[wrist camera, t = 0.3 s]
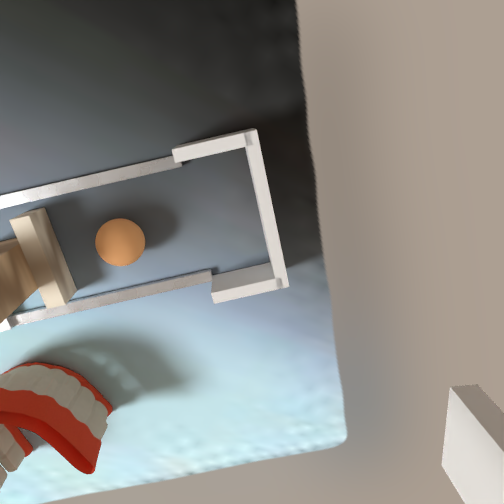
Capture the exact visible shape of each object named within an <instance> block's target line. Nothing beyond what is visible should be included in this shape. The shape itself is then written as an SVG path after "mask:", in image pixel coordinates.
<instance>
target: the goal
mask: <svg viewBox="0 0 504 504" xmlns="http://www.w3.org/2000/svg"><path fill="white" fill-rule="evenodd" d="M242 147H245V148H246V153H247V158H248V162H249V167H250V171H251V176H252V180H253V185H254V189H255V194H256V199H257V203H258V208H259V212H260V217H261V221H262V226H263V231H264V235H265V240H266V244H267V249H268V253H269V258H270V263H265V264H261V265H256V266H252V267H248V268H243V269H239V270H234V271H230V272H226V273H221V274H217V275H213V276H212V289H211V294H212V298H213V301H214V304H215V303H220V302H224V301H228V300H233V299H237V298H242V297H246V296H250V295H255V294H259V293H264V292H268V291H272V290H277V289H281V288H286V287H289V283H288V278H287V273H286V268H285V264H284V259H283V254H282V249H281V244H280V240H279V235H278V230H277V225H276V220H275V215H274V211H273V206H272V201H271V196H270V191H269V187H268V182H267V177H266V172H265V167H264V162H263V158H262V153H261V148H260V143H259V138H258V134H257V130H256V129H254V128H251V129H246V130H242V131H238V132H233V133H229V134H225V135H220V136H216V137H212V138H207V139H203V140H199V141H195V142H190V143H186V144H182V145H177V146H176V147H174V148H173V149H172V153H173V157H174V160H175V163H177V162H181V161H186V160H190V159H194V158H199V157H203V156H207V155H212V154H216V153H220V152H224V151H229V150H233V149H237V148H242Z"/></svg>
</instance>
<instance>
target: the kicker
mask: <svg viewBox="0 0 504 504" xmlns="http://www.w3.org/2000/svg"><path fill="white" fill-rule="evenodd" d="M10 223H11V225H12V227H13V230H14V232H15V234H16V237H17V238H13V239H9V240H5V241H0V324H1V323H2V322H3V321H4V320H5V319H6V318H7V317H8V316H9V315H10V314H11V313H12V312H13V311H14V310H16V309H17V308H18V307H19V306H20V305H21V304H22V303H23V302H24V301H25V300H26V299H27V298H28V297H29V296H30V295H31V294H32V293H34V292H35V291H36V290H37V289H39V291H40V293H41V296H42V298H43V301H44V303H45V305H46V308H47V309H50V308H54V307H58V306H63V305H66V304H67V302H68V301H69V300H70V299H71V298H72V296H73V295H74V294H75V293H76V291H77V289H76V286H75V284H74V281H73V279H72V276H71V274H70V271H69V269H68V266H67V263H66V261H65V258H64V256H63V253H62V251H61V248H60V246H59V243H58V240H57V238H56V235H55V233H54V230H53V228H52V225H51V223H50V220H49V217H48V215H47V212H46V210H45V207H44V208H40V209H35V210H31V211H27V212H25V213H23V214H21V215H19V216H17V217H15V218H13V219H11V220H10Z"/></svg>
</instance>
